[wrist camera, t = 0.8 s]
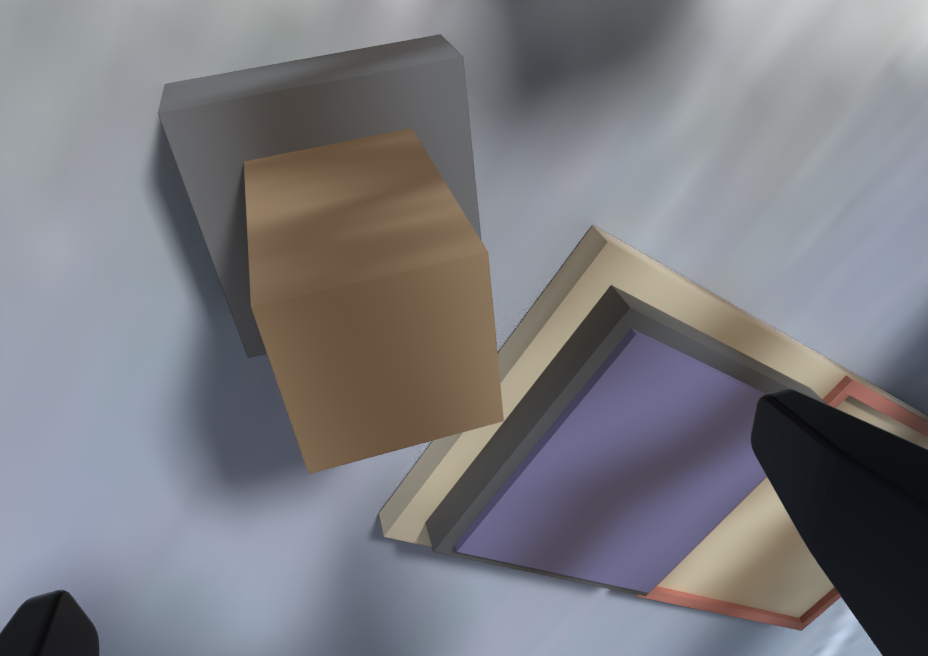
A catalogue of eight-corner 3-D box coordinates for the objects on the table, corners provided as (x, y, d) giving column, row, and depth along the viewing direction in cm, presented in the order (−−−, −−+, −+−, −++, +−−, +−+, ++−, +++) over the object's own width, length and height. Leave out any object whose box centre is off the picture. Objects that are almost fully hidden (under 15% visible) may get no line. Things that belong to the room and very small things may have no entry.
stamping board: (973, 441, 32) (1022, 482, 30) (785, 607, 36) (817, 653, 34) (592, 225, 20) (633, 269, 18) (379, 513, 24) (392, 574, 22)
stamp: (439, 33, 16) (565, 155, 10) (466, 261, 19) (570, 451, 14) (165, 83, 15) (124, 249, 9) (246, 313, 19) (255, 540, 13)
